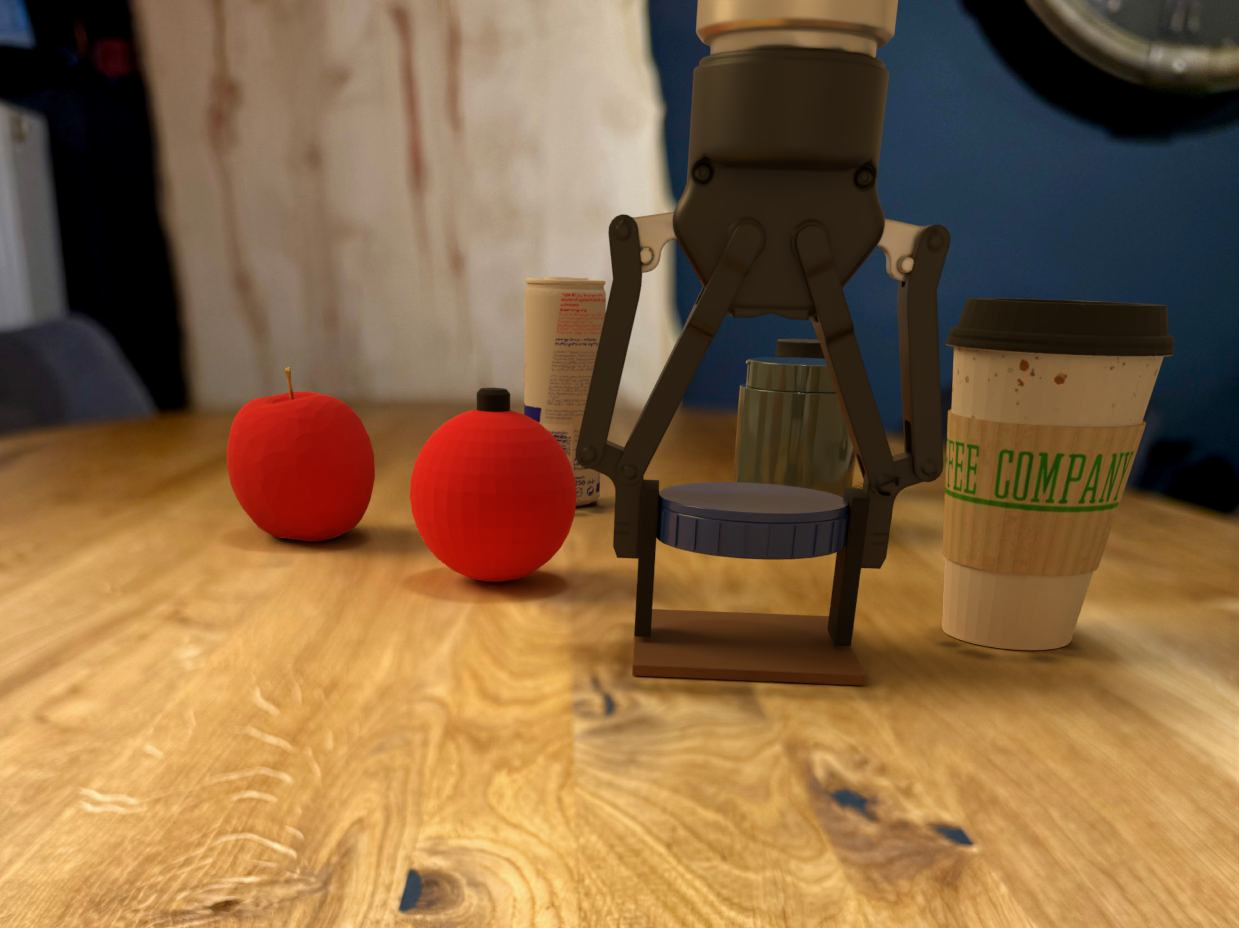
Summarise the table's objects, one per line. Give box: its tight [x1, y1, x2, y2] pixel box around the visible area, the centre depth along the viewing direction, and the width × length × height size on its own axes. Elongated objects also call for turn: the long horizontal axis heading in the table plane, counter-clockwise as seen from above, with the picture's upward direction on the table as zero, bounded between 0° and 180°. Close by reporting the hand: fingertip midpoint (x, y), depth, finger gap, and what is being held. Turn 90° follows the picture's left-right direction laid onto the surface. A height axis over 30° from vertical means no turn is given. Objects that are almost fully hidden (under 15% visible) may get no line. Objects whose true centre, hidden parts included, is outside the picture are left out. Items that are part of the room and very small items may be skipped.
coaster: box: [631, 608, 866, 687], centre depth 59 cm, size 10×10×1 cm
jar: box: [732, 356, 857, 498], centre depth 84 cm, size 8×8×11 cm
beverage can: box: [523, 276, 607, 507], centre depth 90 cm, size 6×6×15 cm
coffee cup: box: [941, 297, 1176, 651], centre depth 60 cm, size 10×10×15 cm
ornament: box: [409, 387, 577, 583], centre depth 68 cm, size 9×9×10 cm
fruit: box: [226, 366, 376, 543], centre depth 78 cm, size 9×9×10 cm
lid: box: [656, 481, 849, 561], centre depth 57 cm, size 8×8×2 cm
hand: (740, 632), depth 59 cm, fingers closed on lid, 8 cm apart
